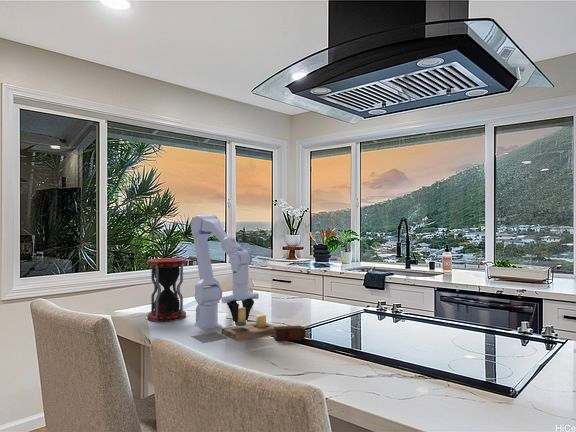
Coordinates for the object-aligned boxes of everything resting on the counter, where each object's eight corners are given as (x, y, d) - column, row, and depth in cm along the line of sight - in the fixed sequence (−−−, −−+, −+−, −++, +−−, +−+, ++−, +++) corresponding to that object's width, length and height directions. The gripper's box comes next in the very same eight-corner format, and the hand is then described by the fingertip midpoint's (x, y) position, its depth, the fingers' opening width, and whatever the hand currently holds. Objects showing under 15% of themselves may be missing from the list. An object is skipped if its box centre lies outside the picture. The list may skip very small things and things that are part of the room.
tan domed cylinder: (253, 331, 157) (253, 315, 157) (262, 329, 159) (262, 314, 160) (259, 333, 154) (259, 317, 154) (268, 331, 156) (268, 315, 156)
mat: (190, 337, 149) (190, 336, 149) (216, 332, 155) (216, 331, 155) (202, 343, 141) (202, 343, 141) (228, 338, 147) (228, 338, 147)
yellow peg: (232, 324, 152) (232, 307, 152) (242, 322, 154) (242, 306, 154) (238, 326, 148) (238, 309, 149) (248, 324, 151) (248, 308, 151)
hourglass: (139, 320, 174) (139, 260, 174) (161, 312, 189) (161, 257, 189) (172, 323, 169) (172, 261, 169) (193, 314, 184) (193, 258, 184)
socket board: (221, 333, 153) (221, 328, 153) (262, 326, 164) (262, 321, 164) (237, 341, 144) (237, 335, 144) (279, 333, 155) (279, 327, 155)
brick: (276, 342, 143) (276, 329, 143) (273, 339, 147) (273, 326, 147) (305, 340, 146) (305, 327, 146) (302, 337, 150) (302, 324, 150)
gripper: (228, 286, 144) (228, 325, 144) (263, 282, 153) (263, 319, 152) (218, 284, 150) (218, 321, 149) (253, 280, 158) (252, 316, 158)
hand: (240, 320), depth 151 cm, fingers closed on yellow peg, 4 cm apart
